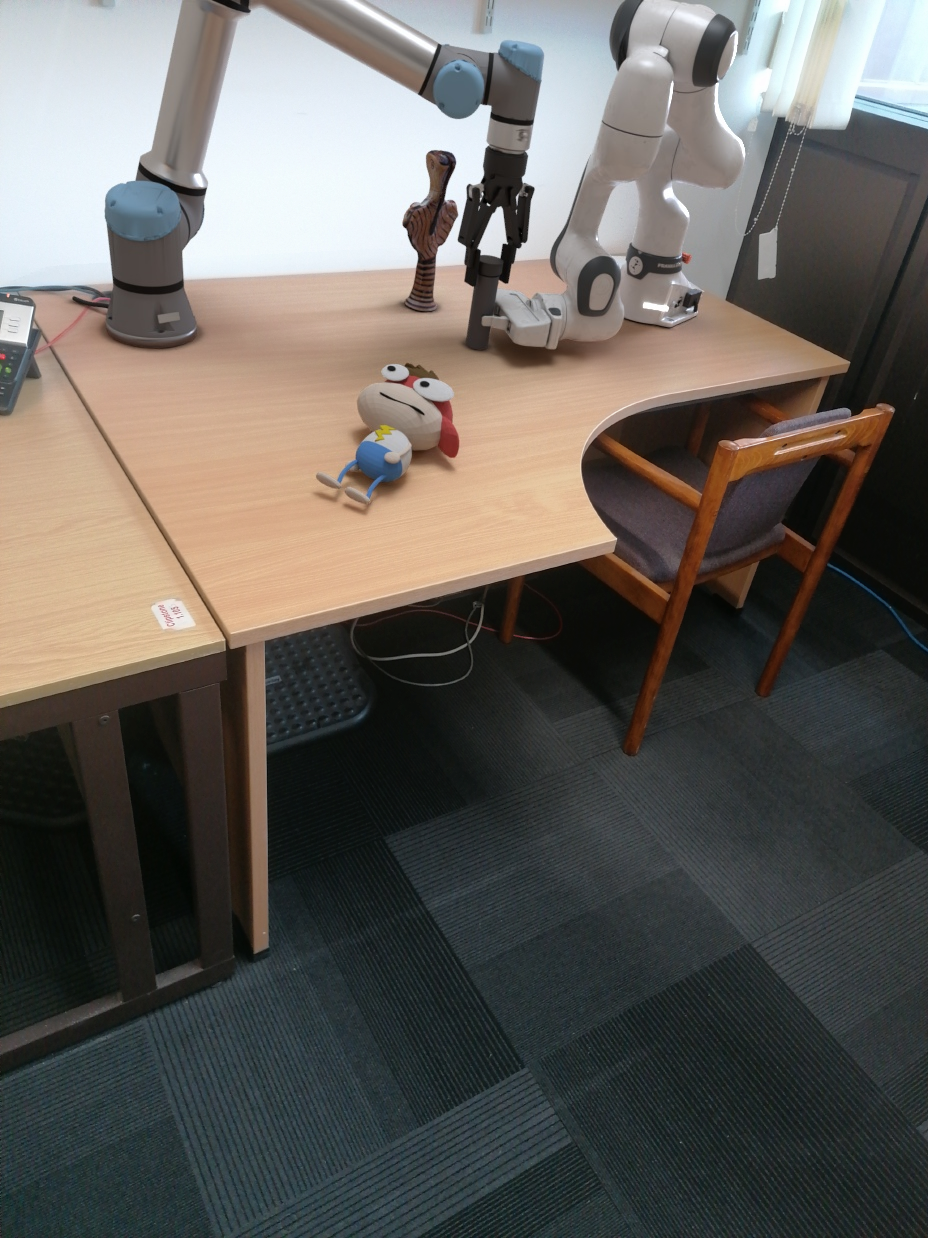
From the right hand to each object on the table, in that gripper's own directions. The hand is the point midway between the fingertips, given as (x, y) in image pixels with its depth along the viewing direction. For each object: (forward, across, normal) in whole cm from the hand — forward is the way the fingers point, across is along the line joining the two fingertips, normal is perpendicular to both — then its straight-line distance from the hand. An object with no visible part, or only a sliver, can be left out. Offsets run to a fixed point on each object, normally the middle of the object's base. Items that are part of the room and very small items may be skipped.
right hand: (477, 313), depth 170 cm
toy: (+26, +44, +6) cm, 52 cm away
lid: (-1, 0, -10) cm, 10 cm away
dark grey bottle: (-1, 0, +6) cm, 6 cm away
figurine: (+5, -20, +6) cm, 21 cm away
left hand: (-1, 0, -6) cm, 6 cm away
